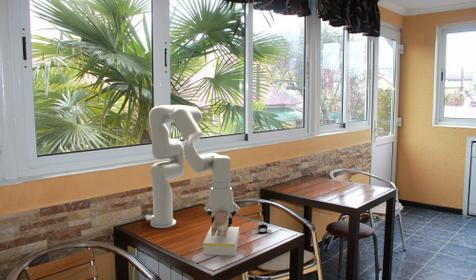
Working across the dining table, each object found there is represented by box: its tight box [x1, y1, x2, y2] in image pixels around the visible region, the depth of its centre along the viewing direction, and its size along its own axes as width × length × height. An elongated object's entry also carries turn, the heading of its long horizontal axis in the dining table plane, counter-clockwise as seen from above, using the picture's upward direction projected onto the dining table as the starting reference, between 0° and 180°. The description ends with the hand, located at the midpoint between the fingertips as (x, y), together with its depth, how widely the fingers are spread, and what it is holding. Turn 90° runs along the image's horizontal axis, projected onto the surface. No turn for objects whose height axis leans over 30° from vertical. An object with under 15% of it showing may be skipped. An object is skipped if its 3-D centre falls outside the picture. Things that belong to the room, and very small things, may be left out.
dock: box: [202, 226, 240, 257], centre depth 172 cm, size 13×20×5 cm, turn 175°
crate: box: [215, 212, 226, 225], centre depth 165 cm, size 4×4×4 cm
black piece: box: [251, 222, 273, 235], centre depth 189 cm, size 12×7×5 cm, turn 96°
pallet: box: [210, 214, 229, 236], centre depth 172 cm, size 6×20×4 cm, turn 175°
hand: (221, 225), depth 172 cm, fingers closed on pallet, 6 cm apart
